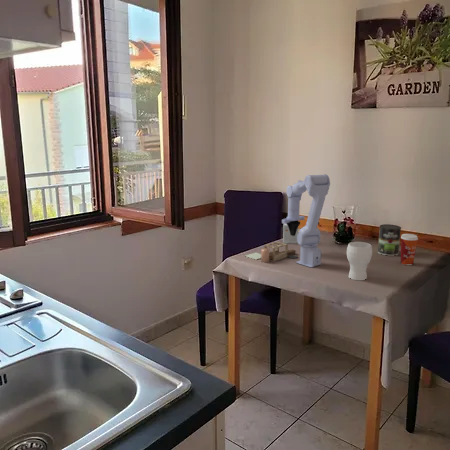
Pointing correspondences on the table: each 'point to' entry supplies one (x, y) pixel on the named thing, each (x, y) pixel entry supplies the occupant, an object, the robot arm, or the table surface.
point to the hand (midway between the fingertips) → (292, 235)
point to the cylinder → (265, 255)
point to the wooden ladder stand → (279, 256)
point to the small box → (287, 237)
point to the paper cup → (408, 248)
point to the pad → (254, 256)
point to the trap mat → (292, 256)
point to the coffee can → (389, 239)
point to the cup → (358, 259)
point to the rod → (290, 252)
